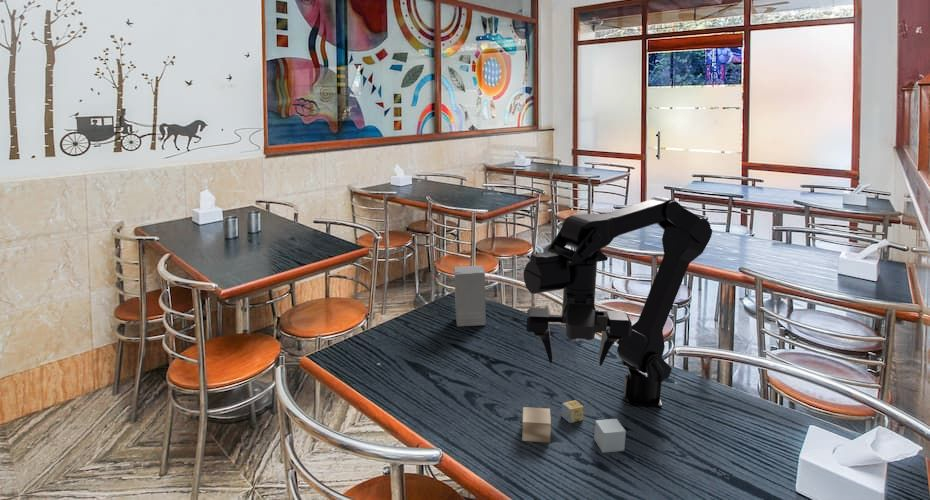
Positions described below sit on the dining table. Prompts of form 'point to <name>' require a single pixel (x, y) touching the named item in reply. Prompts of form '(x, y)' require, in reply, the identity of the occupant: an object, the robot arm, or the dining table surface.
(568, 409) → the alphabet block
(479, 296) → the skincare box
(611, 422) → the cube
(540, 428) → the beech block
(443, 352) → the dining table surface
